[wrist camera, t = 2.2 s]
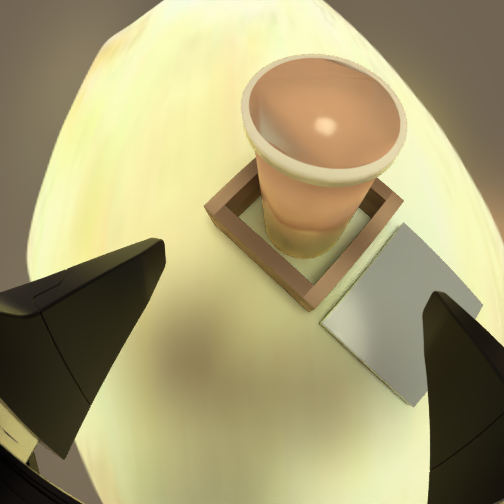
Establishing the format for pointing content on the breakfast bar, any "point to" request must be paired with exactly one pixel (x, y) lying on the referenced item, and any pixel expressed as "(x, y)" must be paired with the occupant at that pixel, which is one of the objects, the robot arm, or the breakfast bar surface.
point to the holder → (308, 295)
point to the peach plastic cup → (318, 145)
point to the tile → (396, 311)
